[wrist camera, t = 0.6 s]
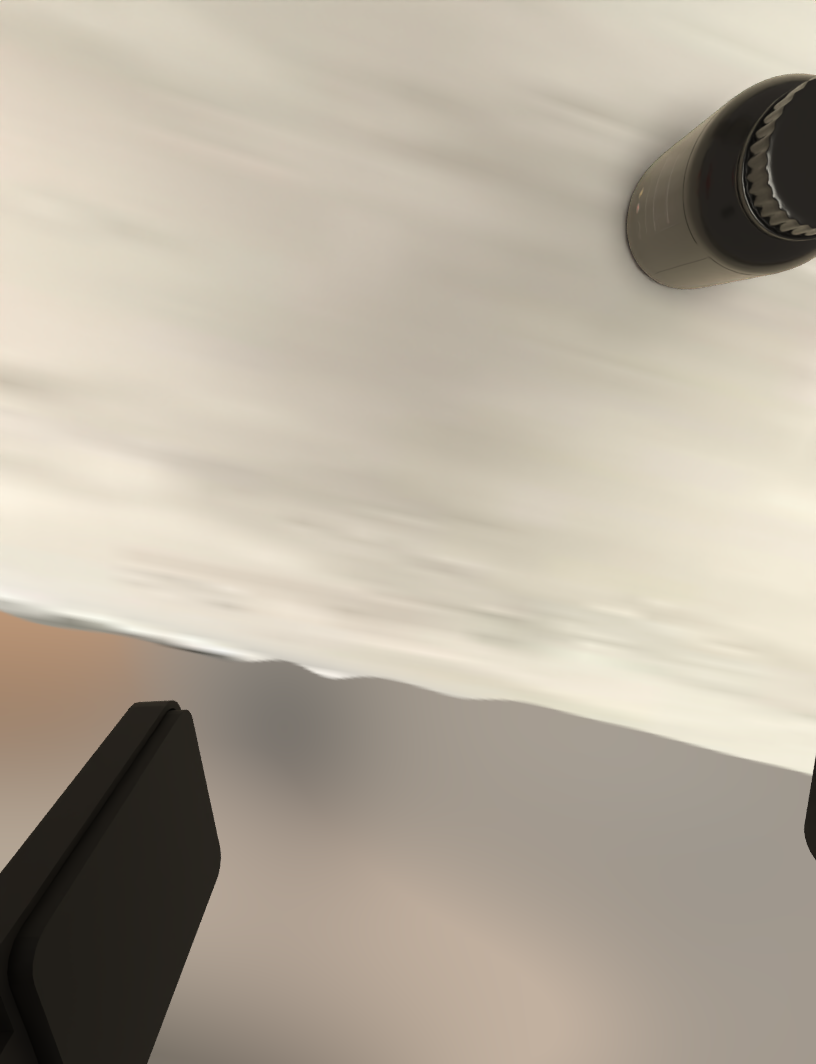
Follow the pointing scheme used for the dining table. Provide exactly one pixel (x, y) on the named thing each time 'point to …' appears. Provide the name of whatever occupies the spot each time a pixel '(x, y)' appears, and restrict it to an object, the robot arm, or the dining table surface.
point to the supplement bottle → (733, 192)
